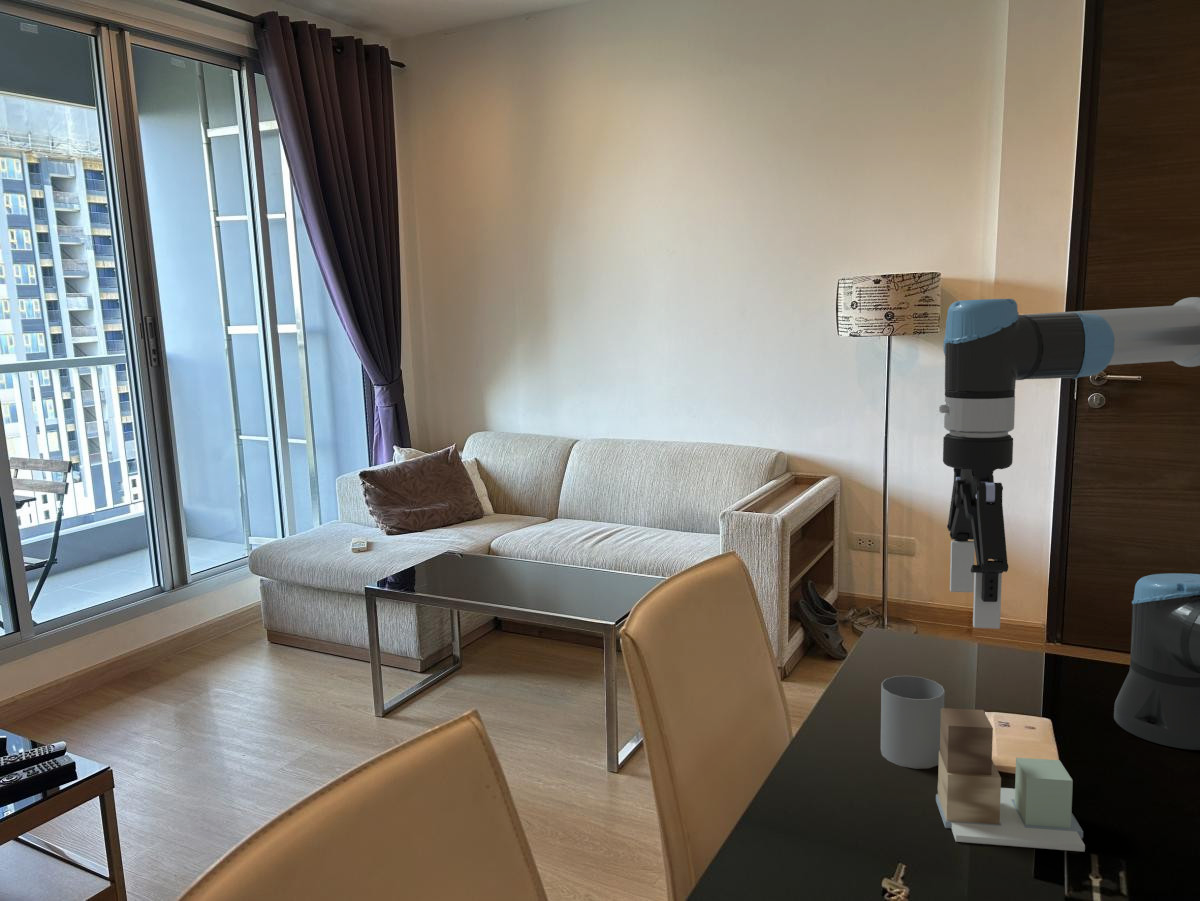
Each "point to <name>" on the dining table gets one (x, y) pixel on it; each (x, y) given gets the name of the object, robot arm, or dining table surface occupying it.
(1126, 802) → the dining table surface
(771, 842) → the dining table surface
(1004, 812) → the board
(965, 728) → the walnut block
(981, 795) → the oak base
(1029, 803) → the sage block
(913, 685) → the cup
